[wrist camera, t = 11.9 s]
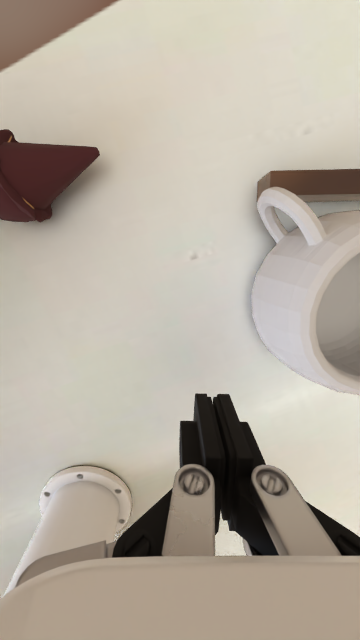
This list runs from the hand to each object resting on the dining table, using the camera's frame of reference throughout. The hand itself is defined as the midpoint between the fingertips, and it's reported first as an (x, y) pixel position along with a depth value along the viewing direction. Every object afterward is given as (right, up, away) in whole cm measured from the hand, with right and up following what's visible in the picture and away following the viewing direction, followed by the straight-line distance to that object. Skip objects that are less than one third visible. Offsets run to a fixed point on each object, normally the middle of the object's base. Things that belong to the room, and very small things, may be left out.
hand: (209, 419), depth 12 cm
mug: (+13, +10, +16) cm, 22 cm away
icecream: (-16, +18, +13) cm, 27 cm away
